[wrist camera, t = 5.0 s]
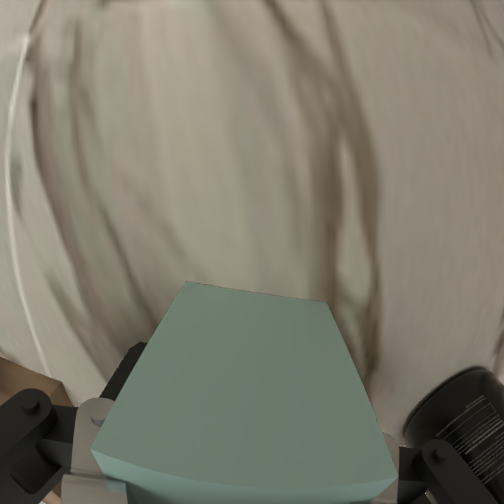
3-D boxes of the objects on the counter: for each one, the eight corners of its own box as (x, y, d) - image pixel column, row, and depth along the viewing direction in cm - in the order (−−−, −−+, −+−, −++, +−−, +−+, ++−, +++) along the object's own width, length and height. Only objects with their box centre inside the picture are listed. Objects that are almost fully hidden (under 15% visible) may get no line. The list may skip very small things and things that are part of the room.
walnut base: (63, 378, 12) (12, 449, 6) (118, 477, 15) (99, 529, 10) (-33, 336, 12) (-75, 372, 6) (21, 434, 16) (-3, 470, 10)
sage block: (326, 302, 10) (398, 476, 3) (294, 399, 11) (310, 543, 4) (185, 281, 10) (90, 448, 3) (181, 384, 11) (137, 525, 4)
